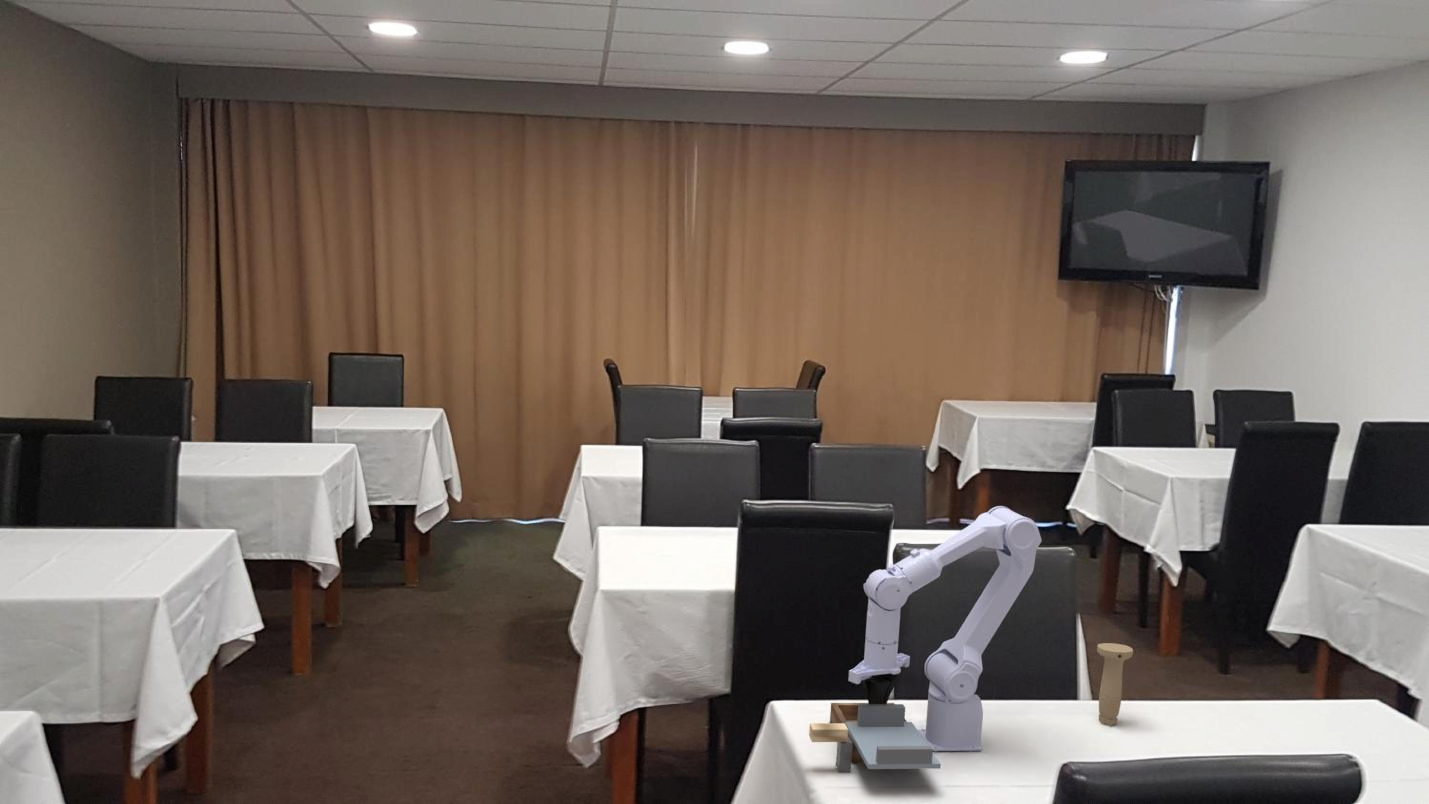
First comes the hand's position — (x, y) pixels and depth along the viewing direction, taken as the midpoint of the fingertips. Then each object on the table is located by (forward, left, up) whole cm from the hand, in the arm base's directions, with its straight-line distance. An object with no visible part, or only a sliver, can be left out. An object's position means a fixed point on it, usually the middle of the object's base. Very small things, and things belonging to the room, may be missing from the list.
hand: (876, 712), depth 192 cm
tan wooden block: (+11, +9, -1) cm, 14 cm away
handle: (-49, -9, -6) cm, 50 cm away
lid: (0, +10, -2) cm, 10 cm away
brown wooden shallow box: (0, -1, -6) cm, 6 cm away
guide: (+8, +9, -6) cm, 13 cm away
